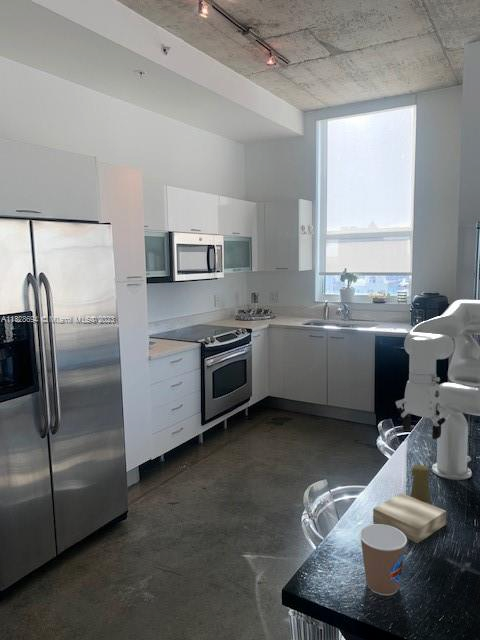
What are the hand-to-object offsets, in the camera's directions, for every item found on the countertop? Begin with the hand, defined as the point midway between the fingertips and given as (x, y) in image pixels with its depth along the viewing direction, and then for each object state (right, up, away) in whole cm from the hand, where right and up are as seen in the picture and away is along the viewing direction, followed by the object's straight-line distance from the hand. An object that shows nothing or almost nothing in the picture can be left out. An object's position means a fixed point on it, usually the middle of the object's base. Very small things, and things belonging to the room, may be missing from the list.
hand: (421, 433), depth 145 cm
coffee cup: (-22, -26, -36) cm, 50 cm away
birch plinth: (-7, -23, -10) cm, 26 cm away
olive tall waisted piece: (+1, -21, +3) cm, 22 cm away
